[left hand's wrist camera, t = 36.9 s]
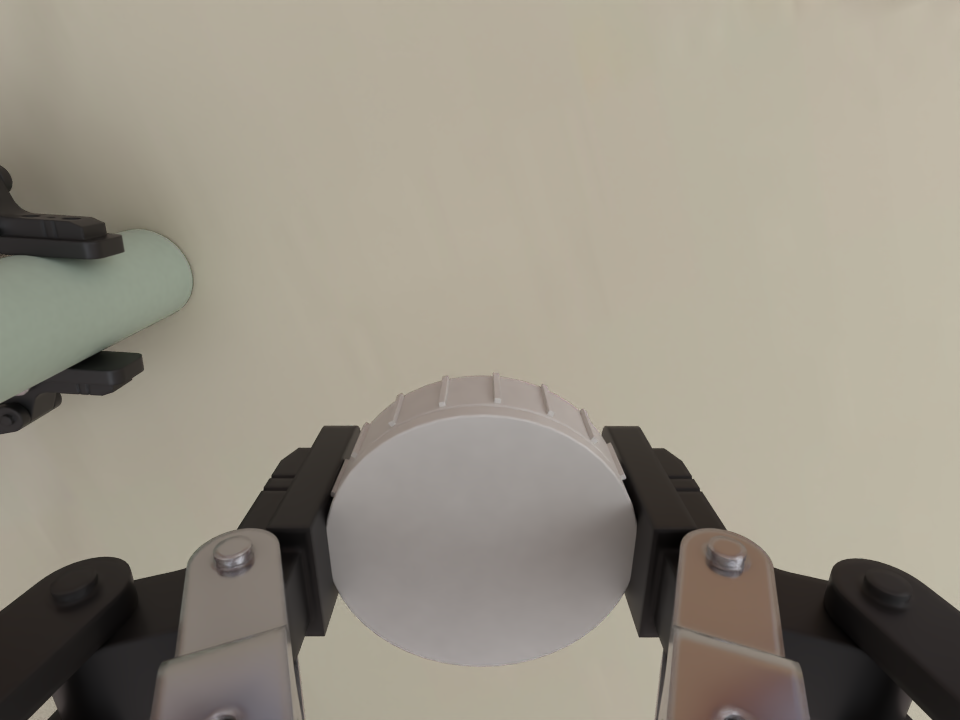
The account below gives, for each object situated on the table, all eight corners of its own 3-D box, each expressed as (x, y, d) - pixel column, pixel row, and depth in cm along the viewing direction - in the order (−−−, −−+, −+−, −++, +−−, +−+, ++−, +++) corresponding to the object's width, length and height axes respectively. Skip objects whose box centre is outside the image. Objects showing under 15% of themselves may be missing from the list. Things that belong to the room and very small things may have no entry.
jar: (188, 232, 29) (-172, 331, 13) (197, 319, 30) (-111, 500, 15) (96, 225, 29) (-380, 315, 13) (111, 312, 30) (-294, 486, 15)
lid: (352, 603, 12) (334, 669, 10) (329, 368, 10) (302, 408, 8) (605, 605, 12) (623, 672, 10) (635, 372, 10) (662, 412, 8)
